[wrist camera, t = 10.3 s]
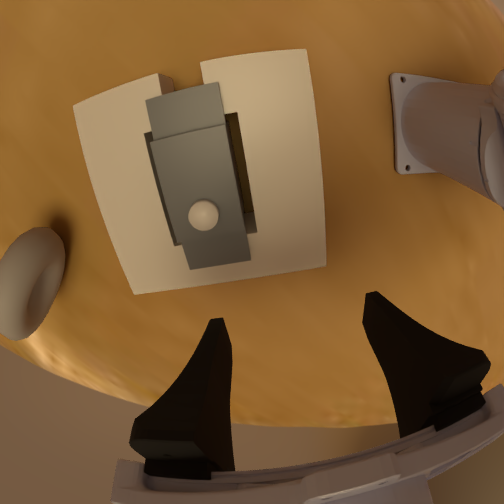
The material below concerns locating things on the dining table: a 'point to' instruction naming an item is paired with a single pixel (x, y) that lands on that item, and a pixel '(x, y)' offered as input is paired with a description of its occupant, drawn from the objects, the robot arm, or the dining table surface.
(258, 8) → the dining table surface
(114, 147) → the chassis
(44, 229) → the donut
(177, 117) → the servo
